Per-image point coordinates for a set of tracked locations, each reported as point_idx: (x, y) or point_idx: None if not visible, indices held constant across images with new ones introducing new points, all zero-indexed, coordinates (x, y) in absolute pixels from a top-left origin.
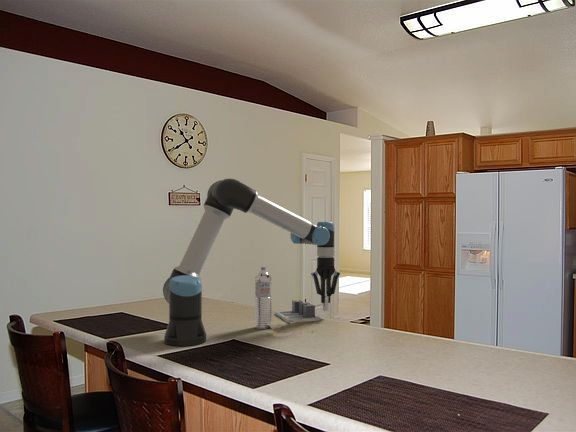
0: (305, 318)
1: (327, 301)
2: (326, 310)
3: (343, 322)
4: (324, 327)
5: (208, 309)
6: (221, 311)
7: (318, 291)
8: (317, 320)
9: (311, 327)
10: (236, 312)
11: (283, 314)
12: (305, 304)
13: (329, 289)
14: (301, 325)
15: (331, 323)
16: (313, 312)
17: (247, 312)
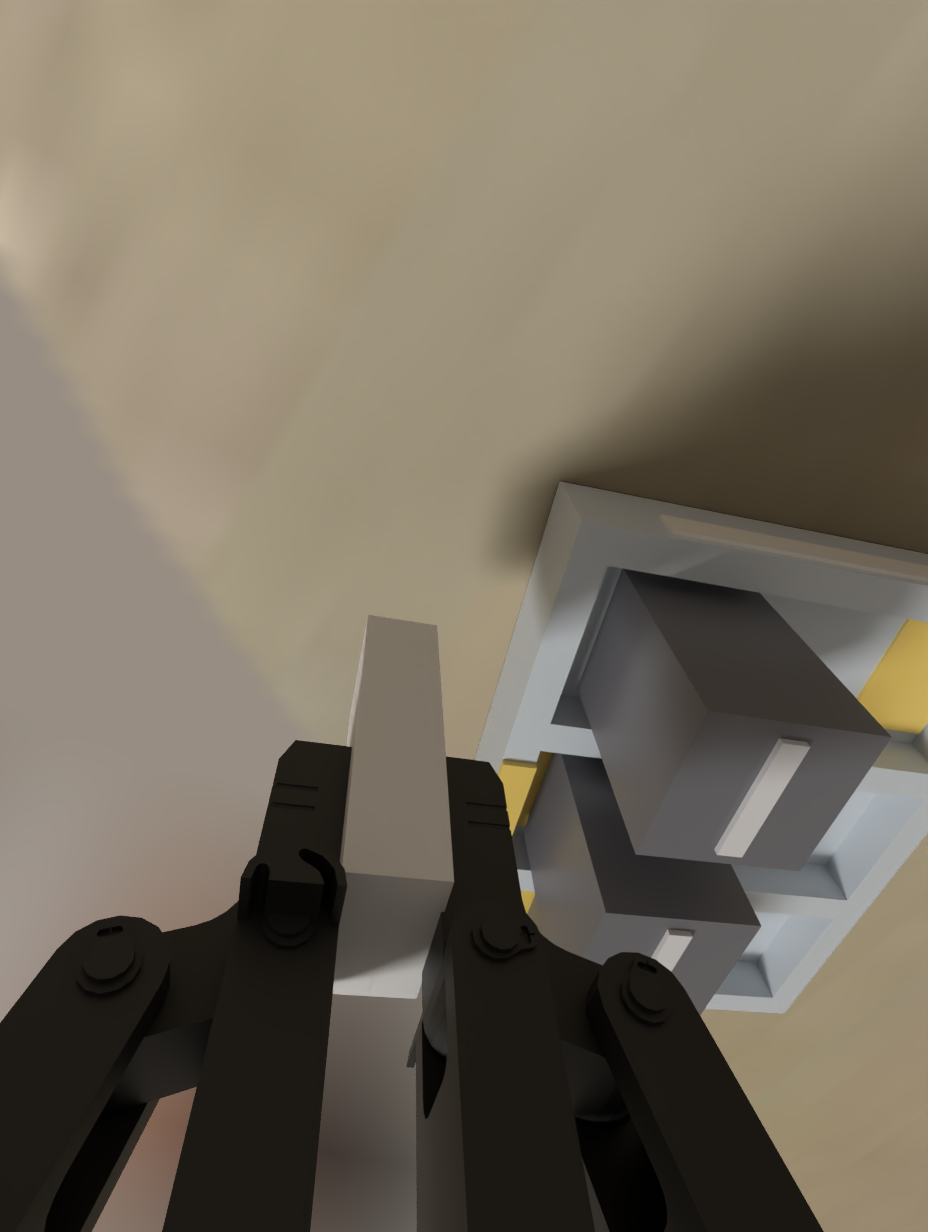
0: (834, 569)
1: (380, 753)
2: (410, 628)
3: (140, 385)
4: (696, 174)
5: (906, 1227)
6: (897, 1181)
7: (730, 1076)
8: (621, 509)
9: (866, 306)
10: (845, 1145)
11: (823, 894)
12: (692, 910)
13: (250, 1134)
14: (861, 514)
15: (383, 418)
16: (690, 635)
17: (782, 1130)
